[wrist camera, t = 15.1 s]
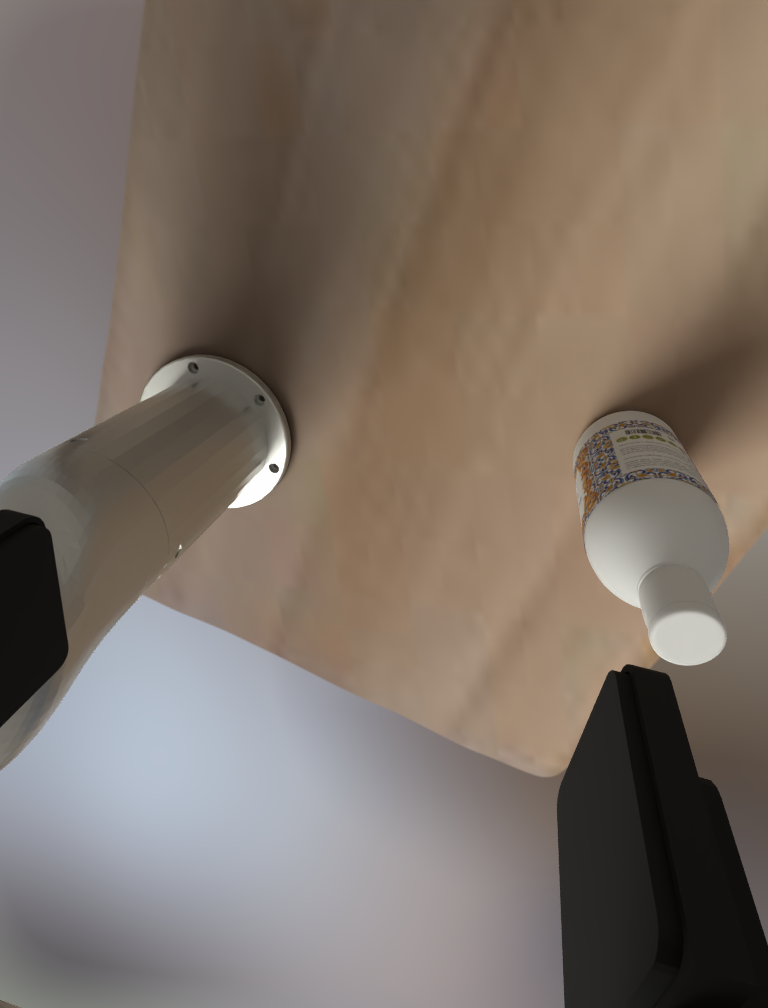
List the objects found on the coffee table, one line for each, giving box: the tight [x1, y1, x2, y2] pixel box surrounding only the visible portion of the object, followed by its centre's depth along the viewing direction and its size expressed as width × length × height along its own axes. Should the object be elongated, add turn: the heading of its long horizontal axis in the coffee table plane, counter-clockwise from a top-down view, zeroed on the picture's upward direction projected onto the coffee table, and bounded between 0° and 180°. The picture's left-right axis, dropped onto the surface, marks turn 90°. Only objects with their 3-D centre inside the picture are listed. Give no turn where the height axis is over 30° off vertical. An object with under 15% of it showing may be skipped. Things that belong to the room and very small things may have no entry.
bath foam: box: [573, 411, 729, 665], centre depth 33 cm, size 7×7×20 cm
